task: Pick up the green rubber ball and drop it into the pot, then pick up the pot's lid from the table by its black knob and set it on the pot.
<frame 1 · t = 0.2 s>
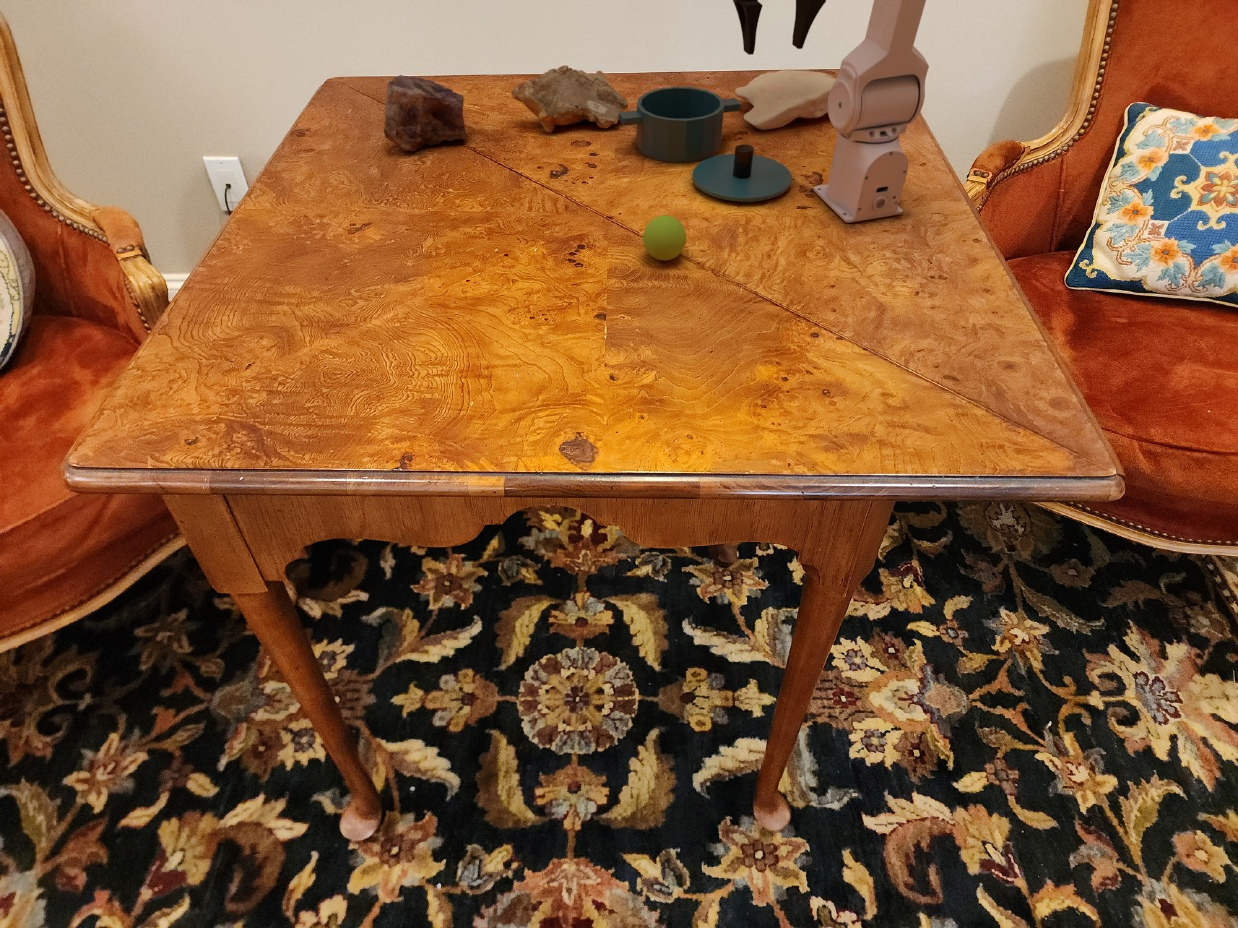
hand: (773, 49, 110), 10 cm above the table, tool pointing down, fingers open, 7 cm apart
ball: (664, 238, 88), point 2 cm above the table
rock: (428, 141, 113), on the table
decorative stone: (795, 109, 120), on the table
lid: (741, 178, 102), point 1 cm above the table
mineral specimen: (571, 123, 117), on the table
pot: (678, 144, 111), on the table
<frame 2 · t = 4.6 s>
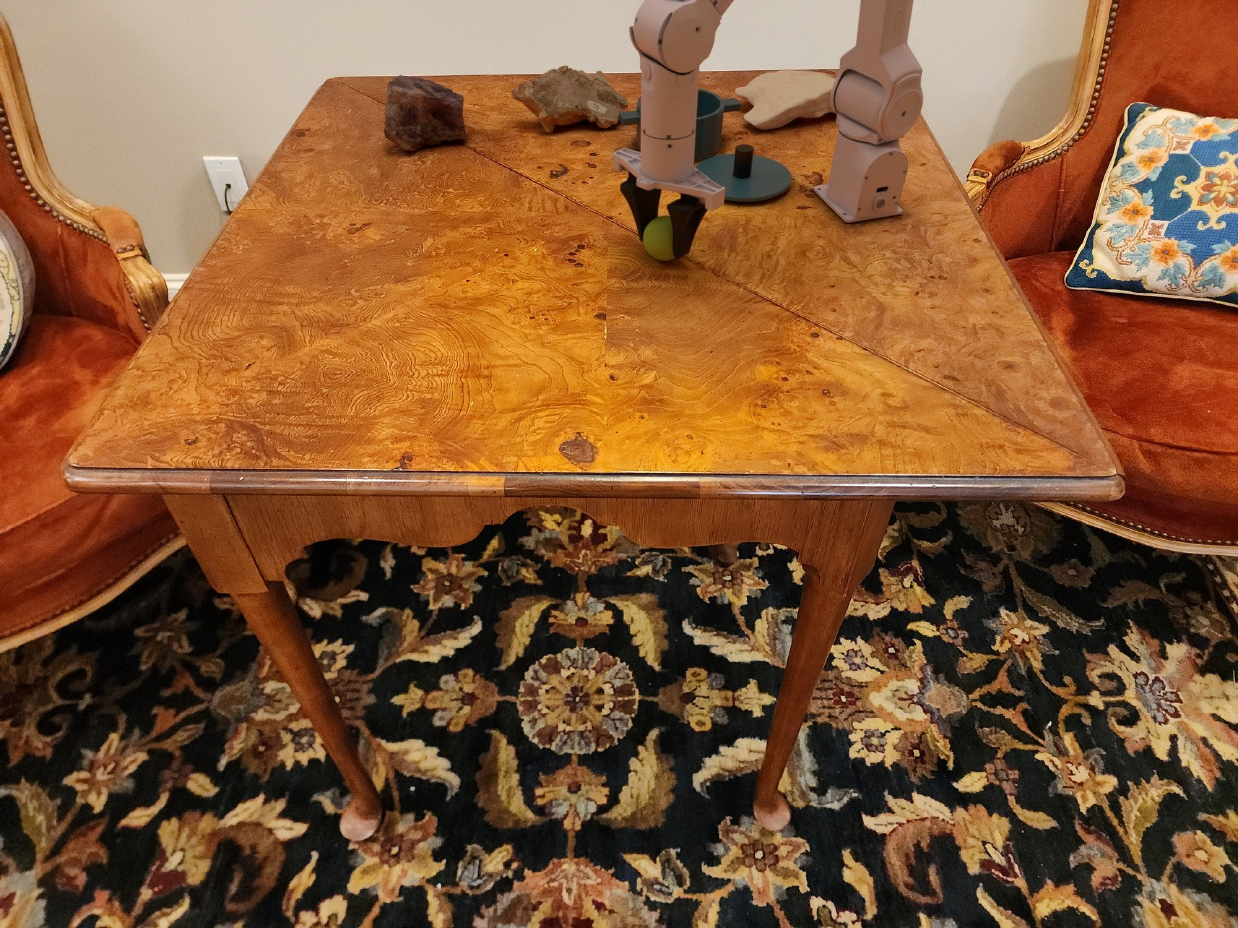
hand: (664, 246, 88), 1 cm above the table, tool pointing down, fingers closed on ball, 5 cm apart
ball: (664, 238, 88), point 2 cm above the table, touching gripper
everything else where it was.
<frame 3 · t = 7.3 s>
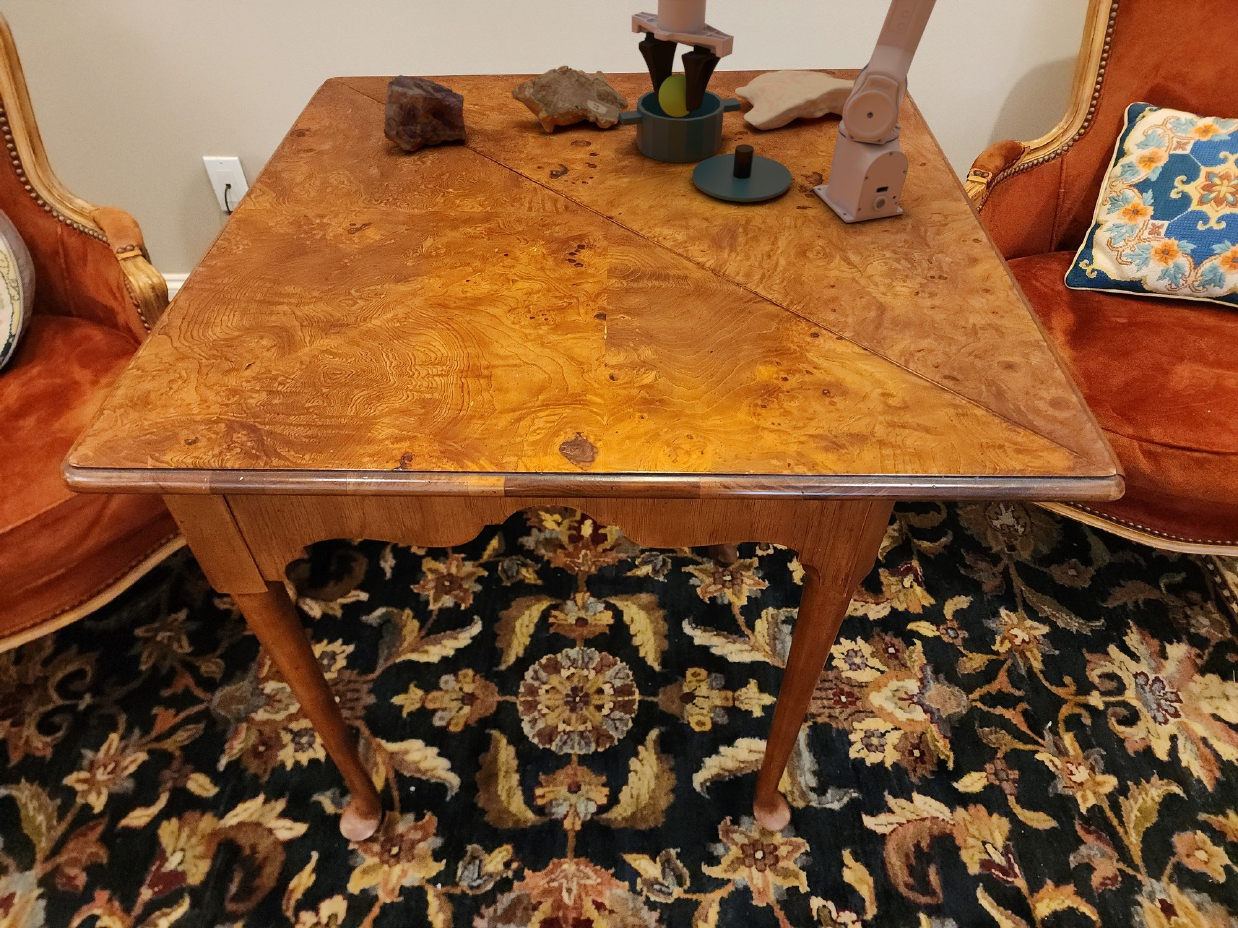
hand: (677, 104, 98), 9 cm above the table, tool pointing down, fingers closed on ball, 5 cm apart
ball: (678, 95, 97), point 10 cm above the table, touching gripper
everything else where it was.
when the fingers open (3 cm above the table, at t = 10.2 s): ball drops 2 cm, resting on pot.
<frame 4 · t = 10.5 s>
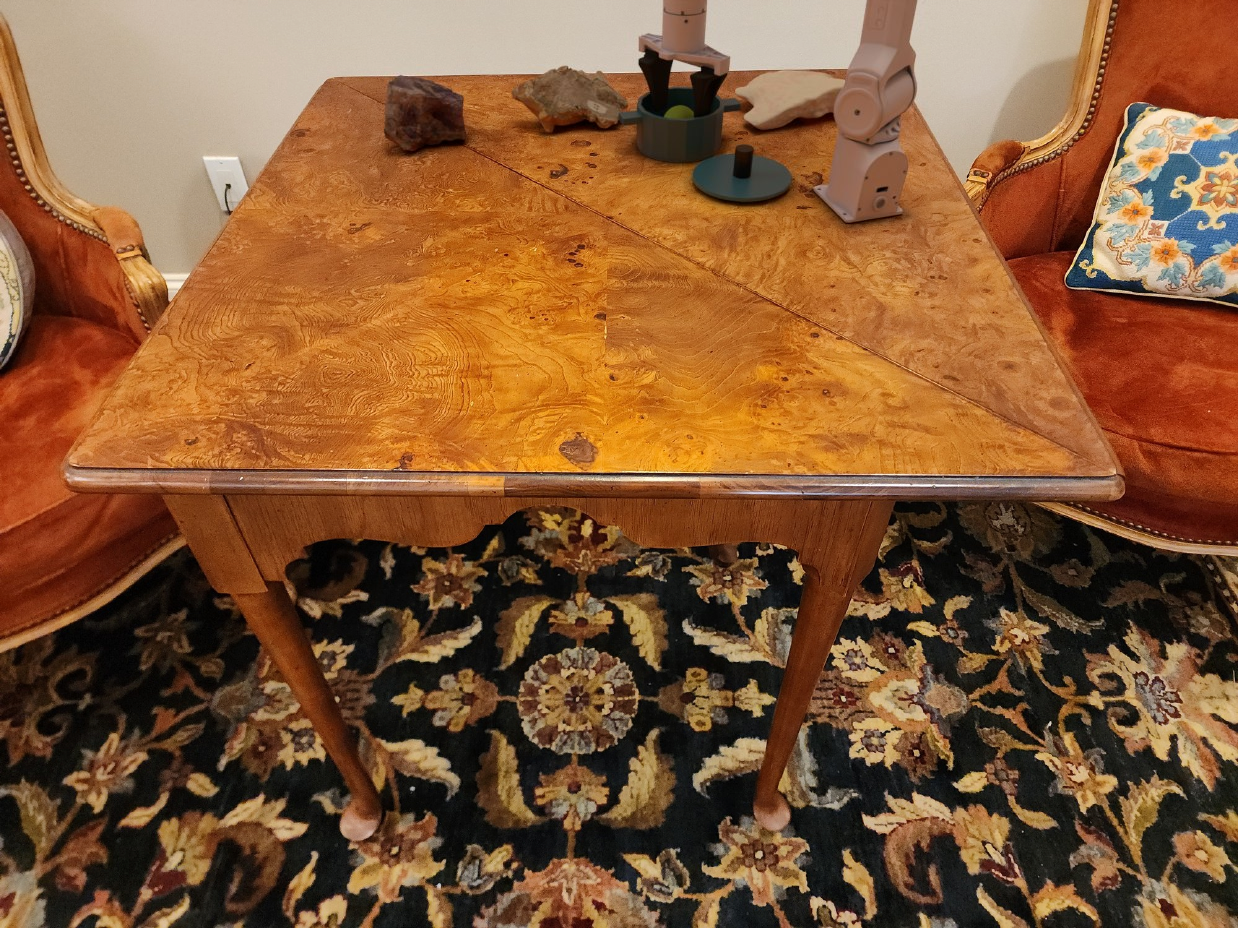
hand: (680, 116, 108), 4 cm above the table, tool pointing down, fingers open, 7 cm apart
ball: (679, 124, 109), point 3 cm above the table, touching pot
everything else where it was.
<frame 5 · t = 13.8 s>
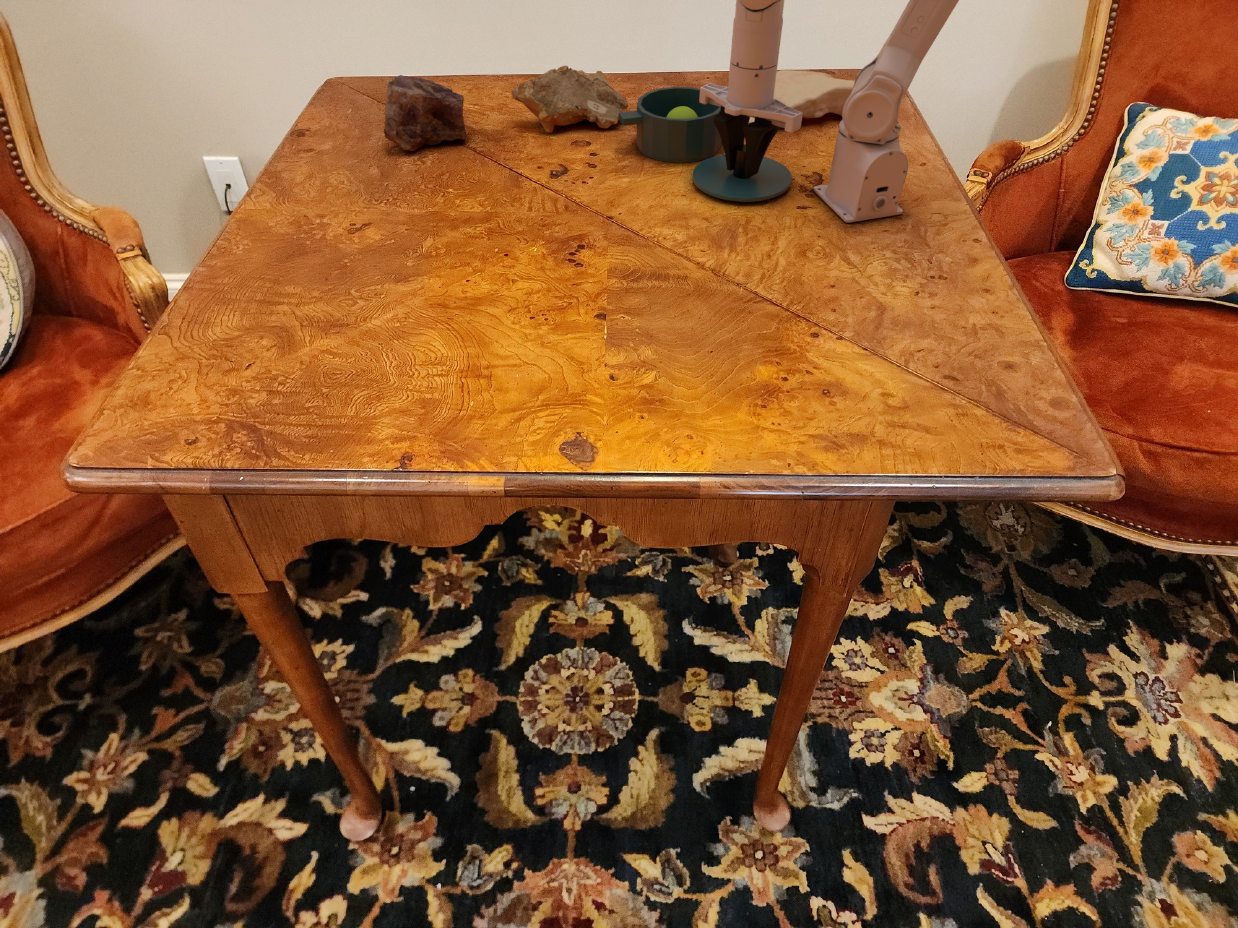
hand: (742, 171, 101), 2 cm above the table, tool pointing down, fingers closed on lid, 2 cm apart
ball: (681, 125, 109), point 3 cm above the table, tilted 11°, touching pot
lid: (741, 178, 102), point 1 cm above the table, touching gripper
everything else where it was.
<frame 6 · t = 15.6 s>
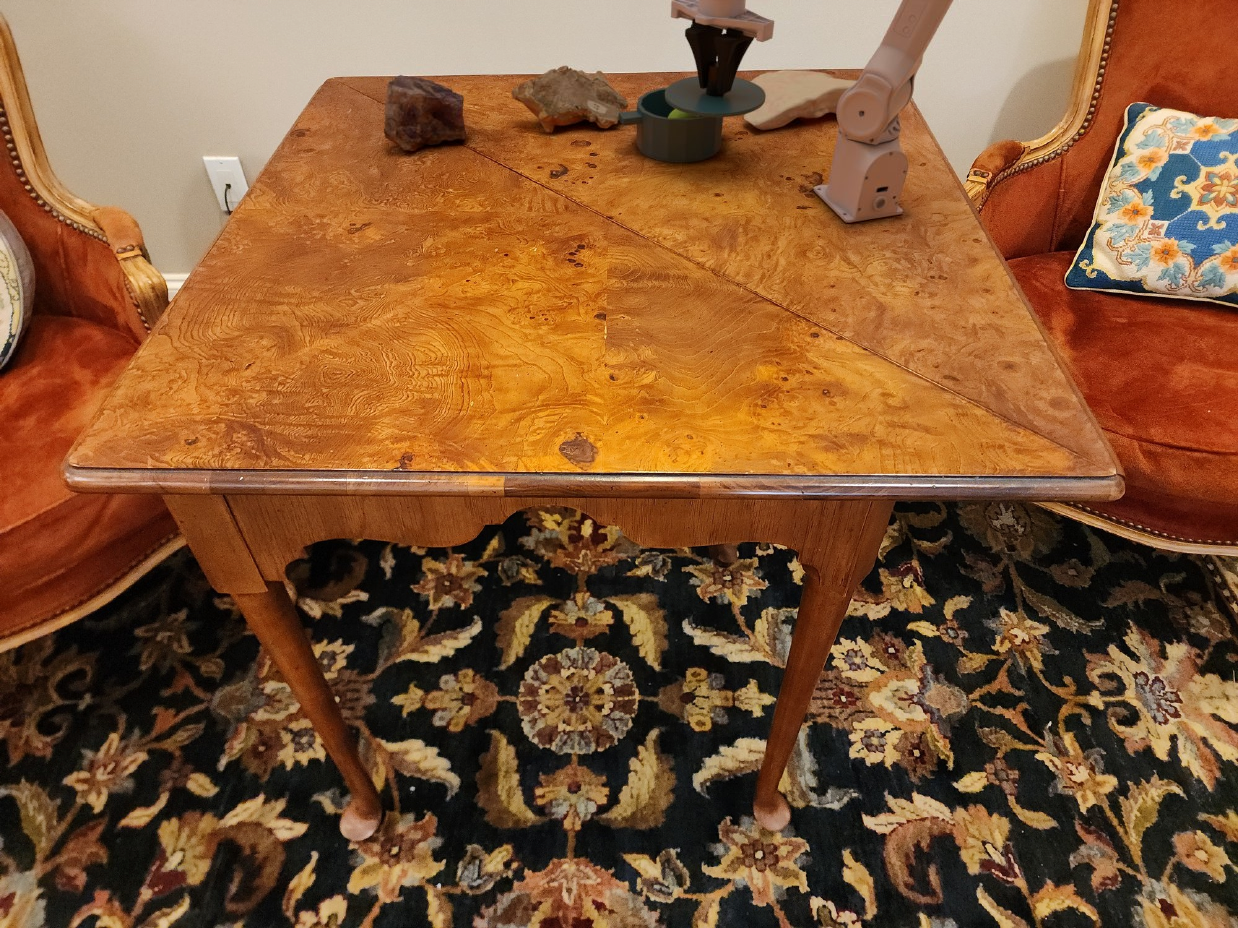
hand: (715, 89, 99), 10 cm above the table, tool pointing down, fingers closed on lid, 2 cm apart
ball: (683, 126, 109), point 3 cm above the table, tilted 16°, touching pot
lid: (714, 97, 100), point 9 cm above the table, touching gripper
everything else where it was.
when the fingers open (7 cm above the table, at t = 17.5 s): lid stays where it is, resting on ball, pot.
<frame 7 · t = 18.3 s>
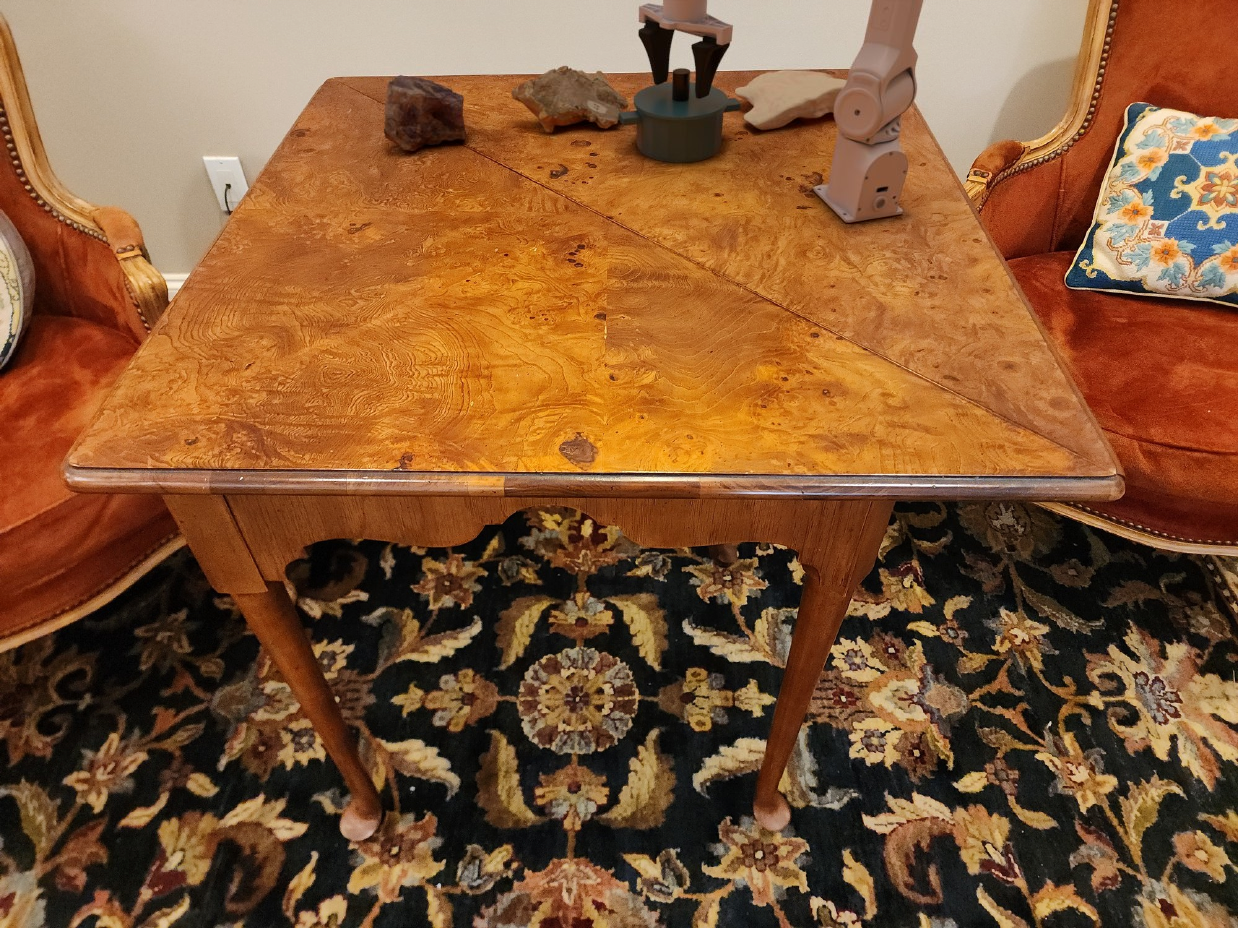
hand: (681, 89, 105), 8 cm above the table, tool pointing down, fingers open, 7 cm apart
ball: (684, 126, 108), point 3 cm above the table, tilted 21°, touching lid, pot
lid: (680, 102, 107), point 6 cm above the table, touching ball, pot
everything else where it was.
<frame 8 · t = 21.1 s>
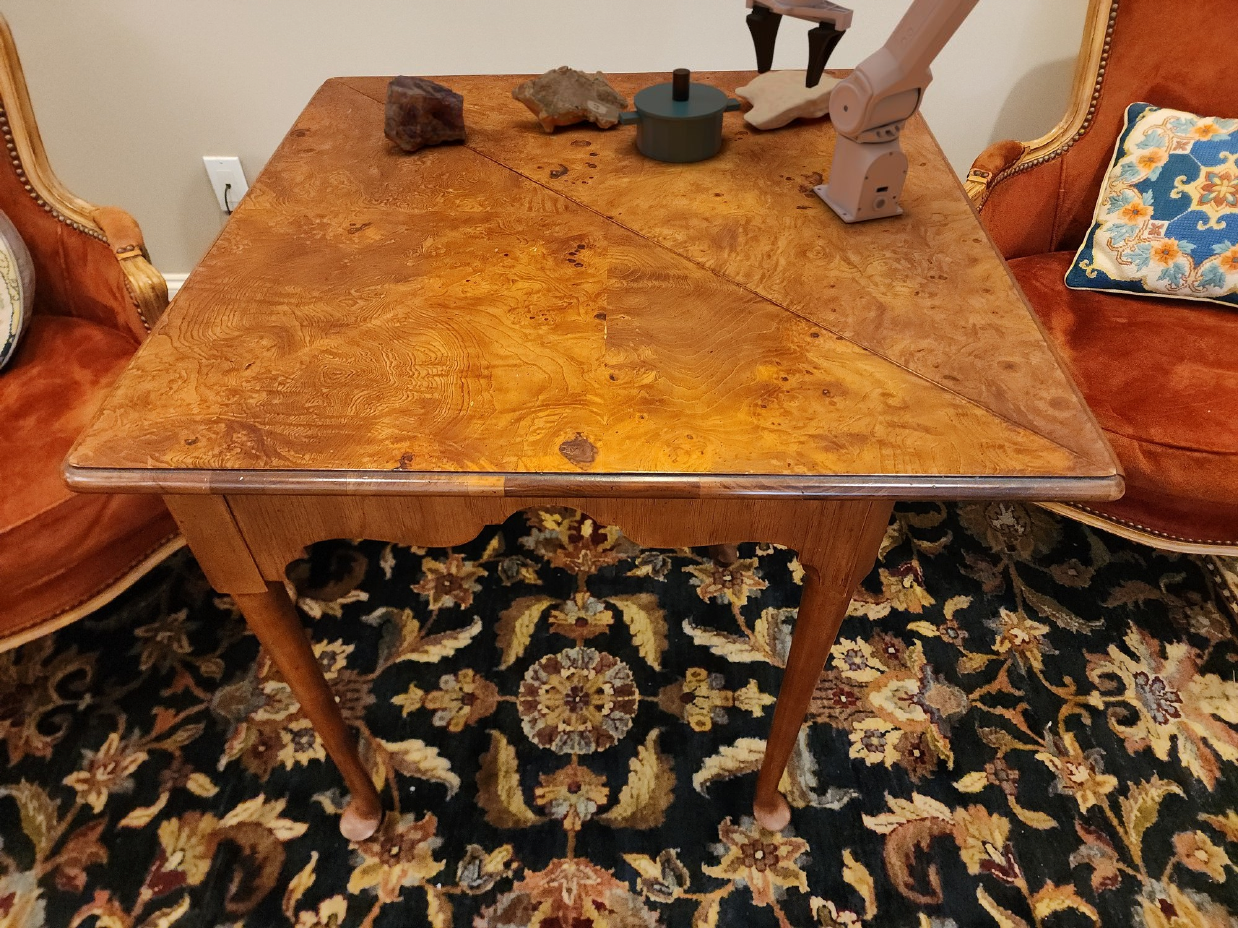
hand: (787, 79, 100), 10 cm above the table, tool pointing down, fingers open, 7 cm apart
nothing on the table moved.
at the end: ball inside the target area in the pot (1.0 cm from its centre), point 2.9 cm above the pot's base; lid 0.0 cm off-centre on the pot, point 6.0 cm above the pot's base; lid tilted 1° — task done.
